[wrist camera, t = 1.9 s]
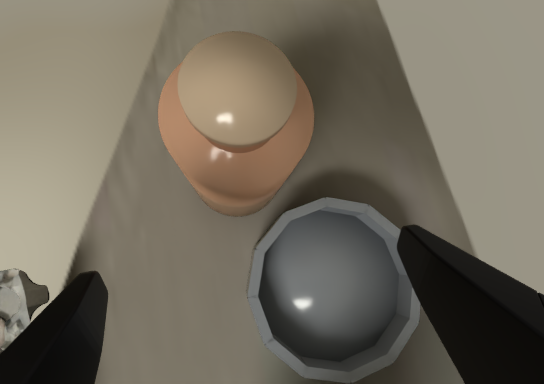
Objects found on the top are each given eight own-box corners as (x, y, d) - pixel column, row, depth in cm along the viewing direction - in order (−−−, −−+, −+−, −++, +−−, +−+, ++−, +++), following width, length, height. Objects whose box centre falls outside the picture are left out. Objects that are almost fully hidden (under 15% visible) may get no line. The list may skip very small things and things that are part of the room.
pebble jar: (293, 198, 22) (358, 140, 10) (210, 229, 21) (177, 204, 9) (262, 120, 23) (290, -17, 11) (181, 147, 22) (115, 27, 10)
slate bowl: (424, 326, 22) (448, 336, 19) (282, 394, 20) (289, 413, 18) (364, 184, 23) (379, 176, 21) (225, 236, 21) (224, 234, 19)
